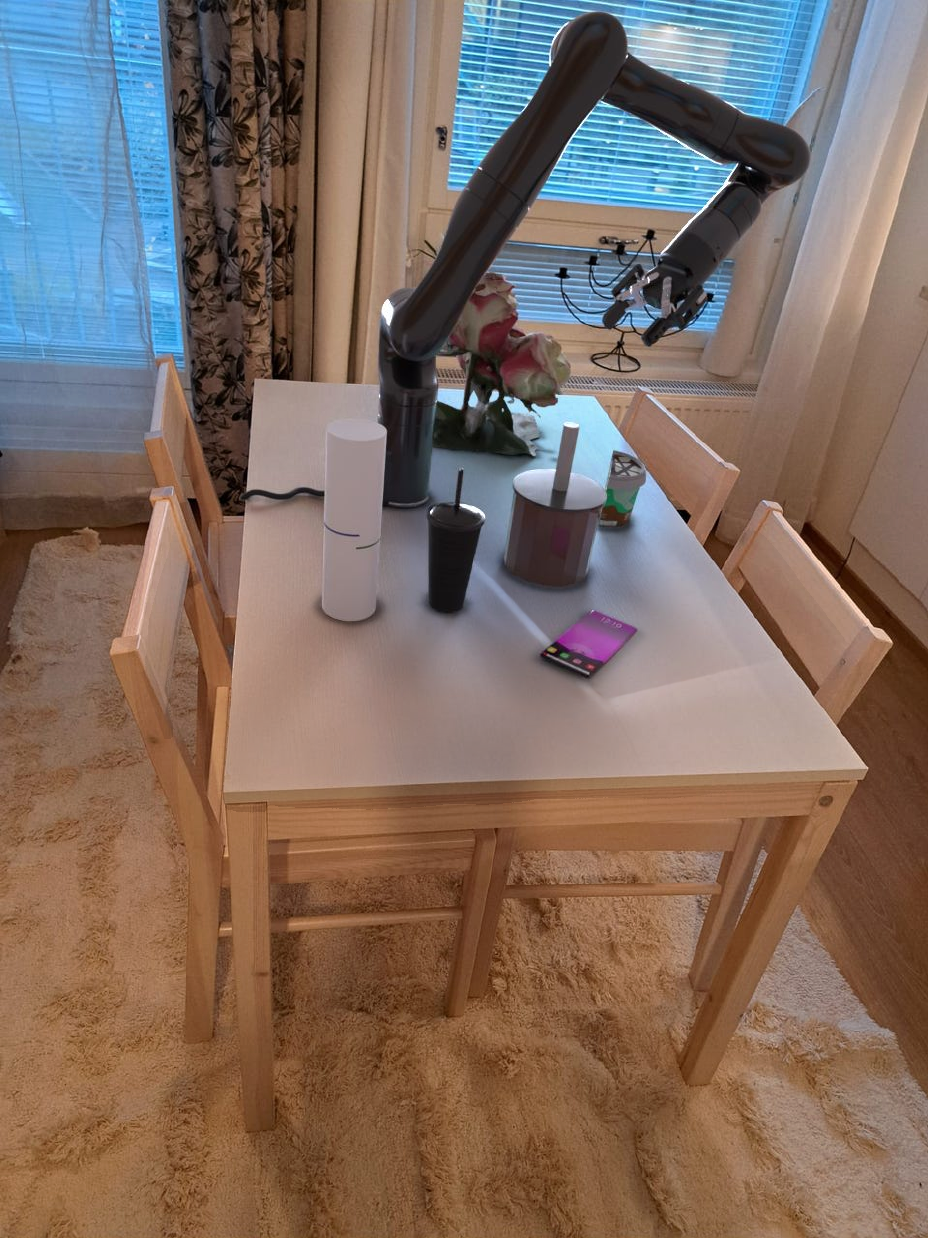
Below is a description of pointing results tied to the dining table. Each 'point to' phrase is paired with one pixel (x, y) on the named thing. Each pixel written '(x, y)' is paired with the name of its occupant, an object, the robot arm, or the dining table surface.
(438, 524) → the drinking cup
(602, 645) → the smartphone
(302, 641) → the dining table surface
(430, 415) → the robot arm
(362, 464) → the cylindrical container
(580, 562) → the brown cylindrical pot
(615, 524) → the food container
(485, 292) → the rose bouquet
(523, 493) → the lid
